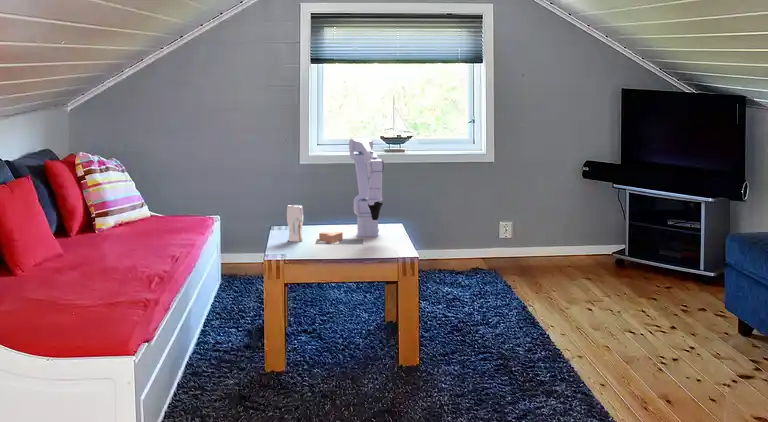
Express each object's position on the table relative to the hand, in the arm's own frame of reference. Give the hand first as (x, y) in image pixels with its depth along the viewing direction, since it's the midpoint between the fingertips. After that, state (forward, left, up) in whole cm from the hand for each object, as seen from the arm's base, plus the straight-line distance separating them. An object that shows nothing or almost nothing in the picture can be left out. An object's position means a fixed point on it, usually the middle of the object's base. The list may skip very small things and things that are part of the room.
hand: (375, 219), depth 317 cm
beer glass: (+34, -2, -10) cm, 35 cm away
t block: (+19, -1, -9) cm, 21 cm away
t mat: (+15, +2, -9) cm, 18 cm away
